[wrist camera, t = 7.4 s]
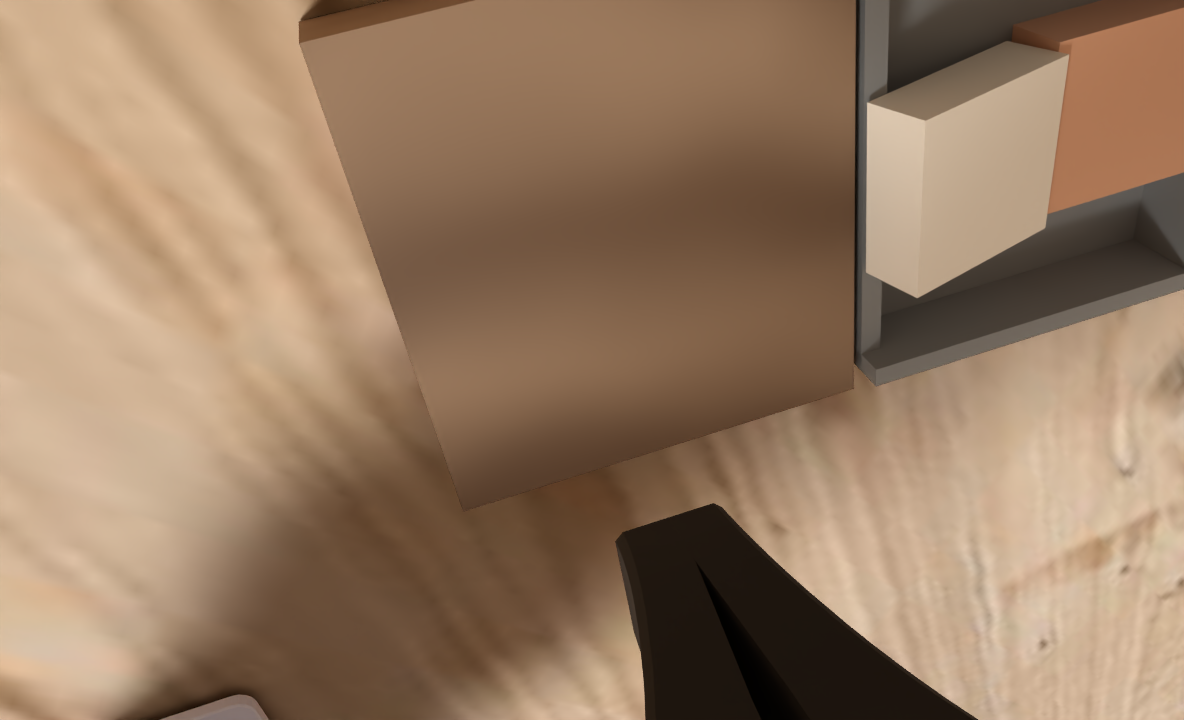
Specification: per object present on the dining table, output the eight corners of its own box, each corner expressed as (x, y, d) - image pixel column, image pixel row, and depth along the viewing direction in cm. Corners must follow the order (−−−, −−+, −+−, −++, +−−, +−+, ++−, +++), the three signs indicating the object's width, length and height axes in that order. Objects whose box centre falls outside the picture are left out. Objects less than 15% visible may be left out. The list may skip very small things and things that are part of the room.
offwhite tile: (990, 207, 22) (1045, 227, 21) (865, 272, 21) (917, 298, 19) (1006, 40, 20) (1069, 54, 18) (867, 102, 18) (925, 120, 17)
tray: (1137, 245, 25) (1202, 283, 23) (832, 338, 24) (875, 386, 22) (1227, -176, 19) (1324, -169, 17) (827, -78, 18) (886, -59, 16)
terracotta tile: (1142, 148, 22) (1190, 170, 21) (996, 191, 22) (1037, 217, 21) (1174, -20, 20) (1231, -6, 19) (1013, 25, 20) (1060, 42, 18)
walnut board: (825, 356, 24) (853, 388, 23) (453, 471, 23) (463, 511, 21) (817, -104, 17) (856, -93, 16) (298, 21, 16) (299, 43, 15)
